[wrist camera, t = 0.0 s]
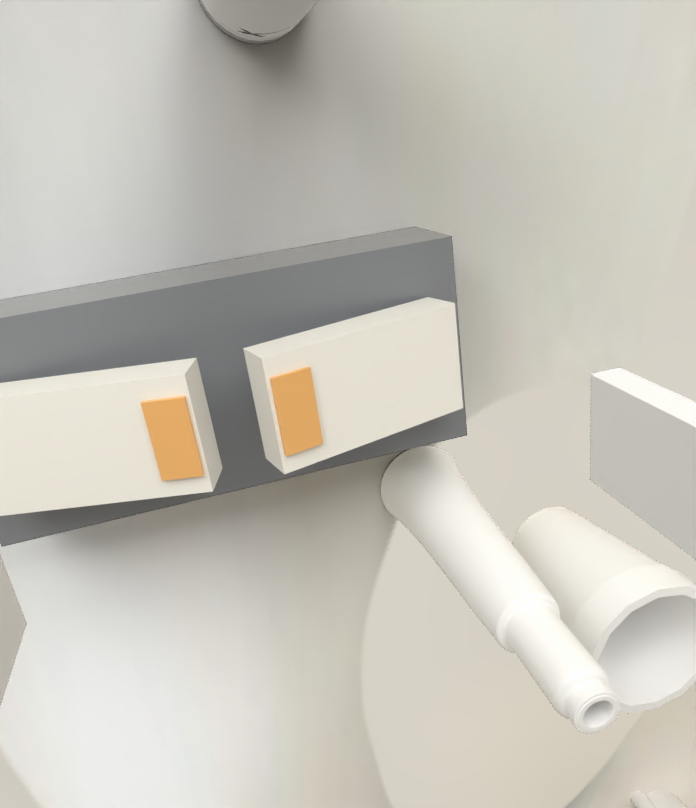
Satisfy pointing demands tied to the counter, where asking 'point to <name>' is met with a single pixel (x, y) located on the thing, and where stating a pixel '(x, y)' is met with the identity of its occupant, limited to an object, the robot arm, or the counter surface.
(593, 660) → the cosmetic bottle
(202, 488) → the rocker
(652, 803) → the pair of white mugs
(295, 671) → the counter surface
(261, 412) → the plate
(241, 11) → the travel mug
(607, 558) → the foam cup
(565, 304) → the counter surface
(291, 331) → the switch unit
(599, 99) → the counter surface
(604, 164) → the counter surface
